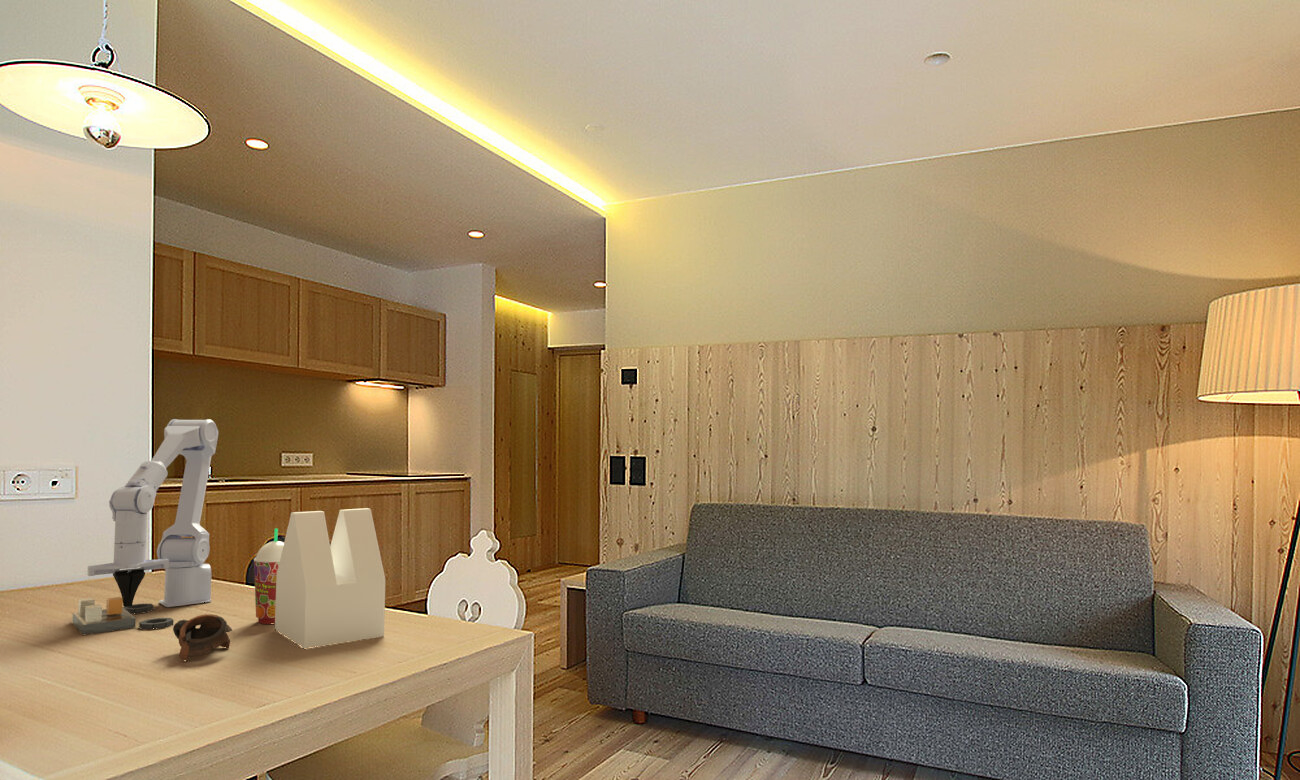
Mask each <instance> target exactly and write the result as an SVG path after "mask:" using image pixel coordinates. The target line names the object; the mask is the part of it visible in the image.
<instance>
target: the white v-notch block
mask: <svg viewBox="0 0 1300 780" xmlns="http://www.w3.org/2000/svg"><path fill="white" fill-rule="evenodd" d="M326 520H327V519H326V514H325V511H322V510H316V511H315V510H313V511H311V510H310V511H295V512H294V511H293V512H290V516H289V520H288V526H287V529H286V533H285V536H284V537H285V538H284V541H283V542H284V545H283V550H282V554H281V558H280V562H279V567H278V571H277V578H276V609H275V624H274V630H275V629H276V630H277V631H279V632H280V633H282V634H283V635H285V636H287V637H288V638H290V639H291V640H293V641H294V642H296V643H297V644H299V645H301V646H302V647H303V648H309V647H315V646H316V647H317V646H323V645H329V644H334V643H341V642H347V641H354V640H360V641H363V640H362V639H366V640H370V638H372V639H375V638H376V637H377V638H382V636H383V637H385V618H386V617H385V613H386V612H385V611H386V610H385V609H386V608H385V604H386V576H385V571H384V565H383V562H382V556H381V552H380V547H379V542H378V538H377V533H376V528H375V522H374V519H373V513H372V509H371V508H368V507H364V508H352V509H351V508H350V509H349V508H348V509H339V512H338V515H337V520H336V524H335V527H334V531H333V534H332V539H331V542H330V538H329V533H328V527H327V521H326ZM277 631H276V632H277ZM280 633H279V634H280ZM283 635H282V636H283ZM377 638H376V639H377ZM354 642H355V641H354Z"/></svg>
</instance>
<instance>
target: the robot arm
mask: <svg viewBox="0 0 1300 780" xmlns="http://www.w3.org/2000/svg"><path fill="white" fill-rule="evenodd" d="M163 434H164V435H163V436H164V440H162V442H161V444H160V445H159V447H158V449H157V450H156V453H155V454H154V455H153V457H152V459H151V460H148V461H144V462H142V463H141V465H140V466H139V467H138V469H137V470H136V471H135V473H133V475H131V477H130V479H129V480H128V481H127V483H126V484H124V486H121V487H119V488H117V489H115V490H114V491H113V492H112V494H111V496H110V499H109V500H108V506H109V509H110V512H111V513H112V520H113V521H114V523H115V525H114V540H113V541H114V542H113V543H114V545H113V562H110V563H109V562H108V563H103V564H95V565H93V564H92V565H88V566H87V573H86V574H87V576H88V577H94V576H99V575H102V576H103V575H110V574H111V575H112V576H113V578H114V580H115V582H116V584H117V587H118V588H119V589H118V590H119V591H120V592H119V593H120V595H121V598H122V599H123V606H122V607H129V606H132V605H134V604H133V603H134V599H135V595H136V593H137V590H138V588H139V587H140V585H141V583H142V582H143V580H144V578H145V577H146V576H145V575H146V572H145V571H150V570H160V569H161V570H162V569H163V570H164V571H165V572H164V595H163V596H164V597H163V599H159V600H158V602H159V603H160V604H161V605H162V606H164V607H166V608H173V607H180V606H187V605H194V604H195V605H197V604H205V603H210V602H212V599H211V598H212V567H211V565H210V564H209V563H205V562H206V560H207V559H208V557H209V555H210V550H211V549H210V535H211V534H210V533H209V532H208V531H207V530H206V529H205V528H204V527H203V526H201V519H202V512H203V508H204V507H203V506H204V501H205V497H206V490H207V489H206V488H207V485H208V479H209V474H210V466H211V463H212V462H211V461H212V456H213V455H216V450H217V444H218V438H219V429H218V427H217V425H216V422H215V421H214V420H212V419H209V418H207V419H177V418H173V419H171V420H169V422H168V423H167V425H166V427H164V429H163ZM179 455H181V456H183V457H184V458H185V460H186V463H185V468H184V473H183V476H182V483H181V489H180V494H179V500H178V505H177V511H176V516H175V520H174V524H172V525H171V526H169V527H168V528H166V530H164V531H163V533H162V536H161V540H160V542H159V544H158V545H157V549H156V556H157V559H146V552H147V551H146V549H147V525H148V513H149V512H150V510H152V509H153V507H154V505H155V502H156V501H155V499H156V496H157V491H158V490H159V488H160V487H161V485H163V482H164V481H165V480H166V478H167V477H168V473H169V472H168V470H167V468H168V467H169V466H170V465H171V464H172V462H174V461H175V459H176V458H177V457H178V456H179ZM204 602H205V603H204Z"/></svg>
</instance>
